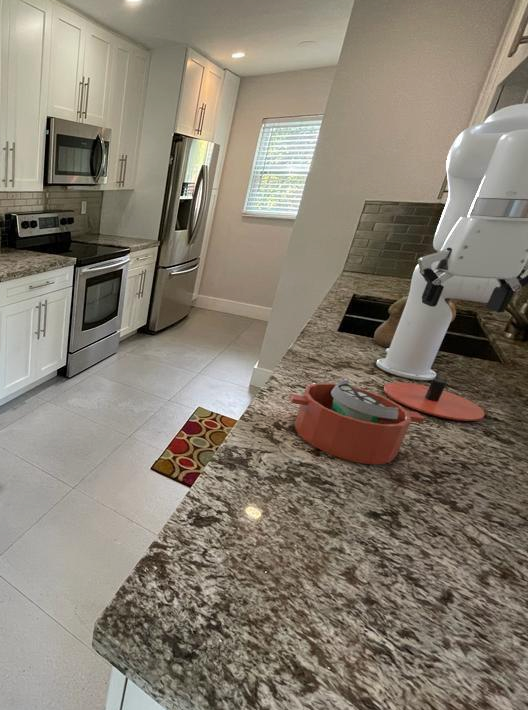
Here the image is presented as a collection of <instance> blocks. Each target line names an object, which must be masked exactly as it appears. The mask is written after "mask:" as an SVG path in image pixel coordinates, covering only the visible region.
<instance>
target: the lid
mask: <svg viewBox="0 0 528 710" xmlns="http://www.w3.org/2000/svg"><path fill="white" fill-rule="evenodd" d="M446 386H447V381H446V380H444V379H442V378H436V377H435V378H434V379H433V380H431V382H430V384H429V385H424V384H419V383H413V382H404V381H394V382H393V381H392V382H388V383H386V384H384V387H383V391H384V393H385V394H386V395H387V396H388V397H389V398H391V399H392V400H394V401H395V402H398V403H399V404H402V405H404V406H406V407H408V408H410V409H412V410H414V411H415V410H416V411H419V412H421V413H425V414H427V415H432V416H434V417H438V418H444V419H448V420H455V421H463V422H474V421H480V420H482V419H484V417H485V411H484V410H483V409H482V408H481V406H480V405H478V404H476V403H475V402H473V401H471V400H470V399H468V398H467V399H466V398H465V397H463V396H461V395H458V394H455V393H452V392H450V391H446V390H445V388H446Z"/></svg>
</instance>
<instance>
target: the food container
mask: <svg viewBox="0 0 528 710" xmlns="http://www.w3.org/2000/svg"><path fill="white" fill-rule="evenodd" d="M349 383H350V380H349V379H344V380H340V381H338V382H337V383H335V384H336V385H335V387H334V388H333V390H332V391H331V395H332V396H333V398H334V399H333V404H332V408H331V410H332V411H335V412H337V413H339V414H341V415H344V416H348V417H351V418H355V419H358V420H361V421H366V422H373V423H379V424H390V423H391V422H392V420H393V419H397V418H398V413H399V412H398V408H392V407H386V406H385V405H383V404H381V403H380V402H379V401H377V400H376V399H375V398H374V397H372V396H371V395H369V394H366V393H364V392H361V391H359V390H357V389H355V388H356V387H355V388H353V387H354V386H352V385H350V384H349ZM351 386H352V387H351Z"/></svg>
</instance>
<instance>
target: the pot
mask: <svg viewBox="0 0 528 710" xmlns="http://www.w3.org/2000/svg"><path fill="white" fill-rule="evenodd" d="M336 384H337V383H334V382H333V383H332V382H315V383H312V384H309V385H307V386H305V389H304V391H303V395H301V394H294V393H289V394H288V399H289V401H290V403H291V404H294V405H299V408H298V410H297V414H296V418H295V420H294V423H293V425H294V429H295V431H296V433H297V434H298V435H299V437H301V438H302V439H303V440H304V441H305V442H307V443H308V444H309V445H311V446H313V447H315V448H316V449H318V450H320V451H322V452H325V453H326V454H329V455H331V456H334V457H337V458H338V459H339V458H340V459H343V460H346V461H350V462H354V463H357V464H358V463H359V464H364V465H385V464H389V463H391V462H392V461H393V460H394V459H395V458H396V457H397V455H398V453H399V450H400V448H401V447H402V446H401V445H402V443H403V441H404V439H405V436H406V434H407V432H408V430H409V426H410V425H411V423H412V422H414V423H421V424H424V421H425V417H423V416H422V415H421V414H420V413H419V412H417V411H411V410H406V408H404V407H403V406H402V405H400V404H398V403H396V401H393V400H391V399H390V398H388V397H385V396H384V395H381V394H378V393H375V392H372V391H369V390H366V389H363V388H359V387H354V386H352V385H350V386H351V387H353V388H355V389H357V390H359V391H361V392H364V393H366V394H369V395H371V396H372V397H374V398H375V399H376V400H377V401H379V402H380V403H381V404H383V405H385V406H386V407H392V408H398V412H399V413H398V418H397V419H393V420H392V422H391V423H390V424H379V423H373V422H366V421H361V420H358V419H355V418H351V417H348V416H344V415H341V414H339V413H337V412H335V411H332V410H331V408H332V404H333V399H334V398H333V396H332V395H331V391H332V390H333V388H334V387H335V385H336Z"/></svg>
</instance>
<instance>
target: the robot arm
mask: <svg viewBox="0 0 528 710" xmlns="http://www.w3.org/2000/svg"><path fill="white" fill-rule="evenodd" d="M446 159H447V160H446V176H447V177H446V179H447V186H448V197H447V201H446V204H445V206H444V209H443V211H442V214H441V217H440V220H439V222H438V224H437V228H436V231H435V233H434V237H433V242H432V247H433V249H434V250H435V251H437V252H434V253H431V254H428V255H424V256H420V257H418V259H417V265H416V266H415V268H414V270H413V273H412V277H411V280H410V281H411V282H410V288H409V292H408V293H409V296H408V299H407V302H406V305H405V308H404V311H403V314H402V316H401V319H400V322H399V324H398V327H397V329H396V332H395V335H394V337H393V340H392V343H391V345H390V348H386V349H385V350H384V351H385V353H387V354H386V355H385V357H381V358H379V359H377V360H376V362H375V365H376V366H377V367H378V368H379V369H381V370H382V371H384V372H386V373H389V374H391V375H395V376H398V377H401V378H405V379H410V380H416V381H432V380H433V379H434V378H436V377H437V372H435V371H434V370H433V369H431V368H432V366H433V364H434V361H435V359H436V357H437V354H438V353H439V350H440V348H441V345H442V343H443V340H444V338H445V336H446V334H447V332H448V329H449V327H450V324H451V323H452V322H451V320H452V311H451V309H450V307H449V306H448V304H447V303H446V302H445V298H451V299H455V300H460V301H461V300H463V301H469V302H474V303H475V302H476V303H485V304H486V306H485V307H486V309H488V310H491V311H493V312H495V313H502V314H503V313H504V312H505V310H506V308H507V307H509V304H510V303H511V300H512V298H513V296H514V294H515V292H518V291H521V289H522V288H523V287H525V286H526V285H528V103H527V102H526V103H517V104H513V105H508V106H506V107H503V108H500V109H498V110H496V111H494V112H493V113H491V114H490V115H488V117H486V119H485V120H484V122H483V123H480V124H476V125H472V126H470V127H467V128H465V129H464V130H463V131H461V132H460V134H458V136H457V137H456V138H455V140H454V141H453V143H452V145H451V146H450V148H449V151H448V155H447V158H446ZM524 267H525V268H526V270H525V271H524V272H523V273H521V272H522V271H523V269H524ZM450 322H451V323H450Z"/></svg>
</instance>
